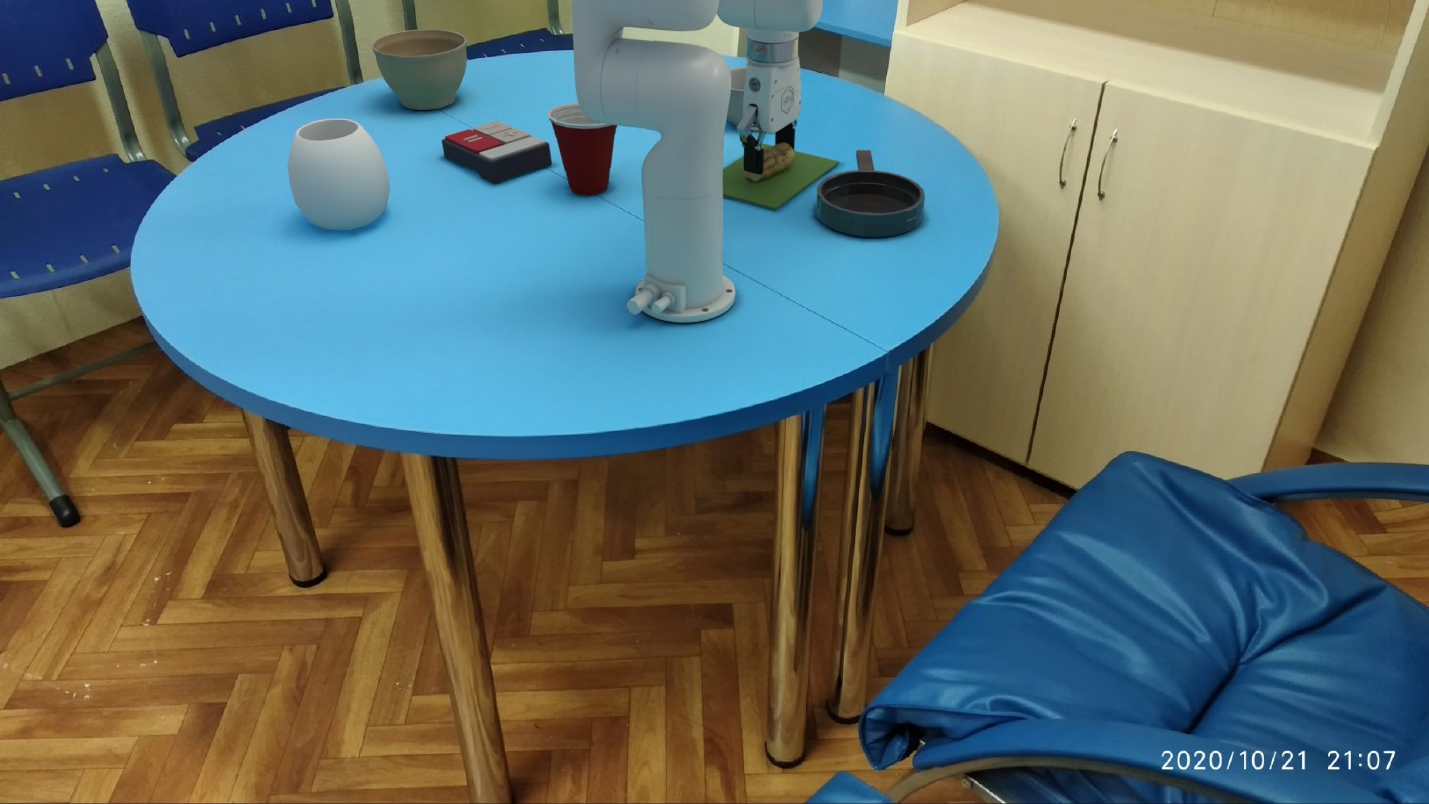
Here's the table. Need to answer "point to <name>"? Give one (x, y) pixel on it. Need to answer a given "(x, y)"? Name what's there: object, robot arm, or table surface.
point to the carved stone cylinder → (774, 161)
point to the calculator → (497, 151)
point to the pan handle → (864, 160)
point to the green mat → (775, 181)
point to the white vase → (337, 174)
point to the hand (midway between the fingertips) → (769, 161)
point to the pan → (869, 203)
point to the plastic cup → (583, 148)
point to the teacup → (736, 96)
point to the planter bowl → (422, 66)
